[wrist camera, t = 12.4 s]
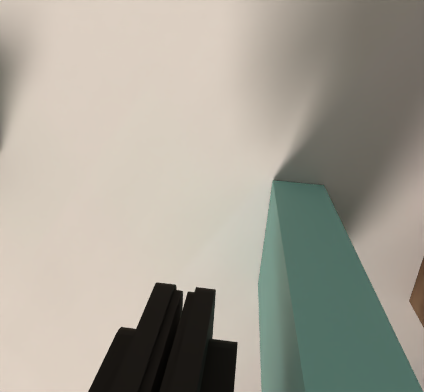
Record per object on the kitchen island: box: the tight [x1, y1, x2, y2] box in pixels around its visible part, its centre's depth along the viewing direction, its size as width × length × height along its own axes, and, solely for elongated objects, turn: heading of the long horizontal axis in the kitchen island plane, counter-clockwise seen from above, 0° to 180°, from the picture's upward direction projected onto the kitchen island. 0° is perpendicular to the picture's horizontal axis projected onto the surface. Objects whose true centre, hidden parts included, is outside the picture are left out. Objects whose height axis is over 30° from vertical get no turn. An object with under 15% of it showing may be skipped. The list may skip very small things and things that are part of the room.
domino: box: [258, 180, 423, 392], centre depth 12 cm, size 5×2×10 cm, turn 176°
